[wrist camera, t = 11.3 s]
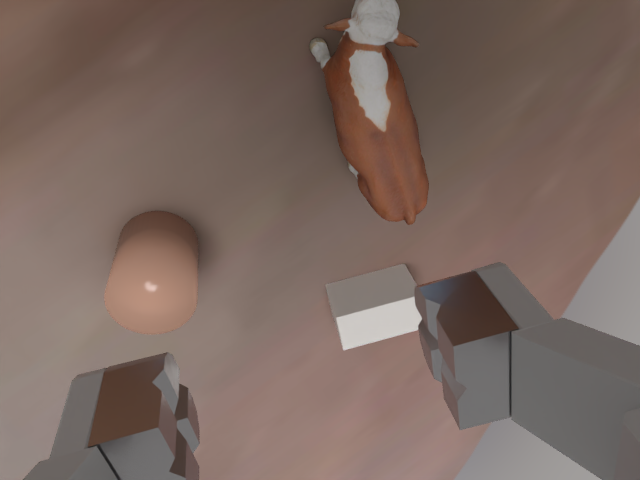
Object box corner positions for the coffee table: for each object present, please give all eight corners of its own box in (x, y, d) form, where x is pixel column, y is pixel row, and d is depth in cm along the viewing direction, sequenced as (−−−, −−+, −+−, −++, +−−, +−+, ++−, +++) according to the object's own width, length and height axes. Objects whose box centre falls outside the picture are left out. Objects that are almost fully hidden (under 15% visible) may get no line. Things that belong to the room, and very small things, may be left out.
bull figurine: (366, -48, 29) (416, -36, 22) (404, 174, 37) (451, 234, 30) (288, -25, 29) (314, -7, 22) (341, 192, 36) (373, 258, 30)
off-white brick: (403, 262, 40) (422, 294, 37) (408, 294, 42) (426, 327, 39) (324, 283, 40) (336, 317, 37) (332, 314, 42) (343, 350, 38)
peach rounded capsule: (184, 202, 35) (181, 251, 30) (207, 266, 37) (208, 321, 32) (106, 222, 34) (89, 275, 29) (135, 284, 37) (124, 343, 32)
